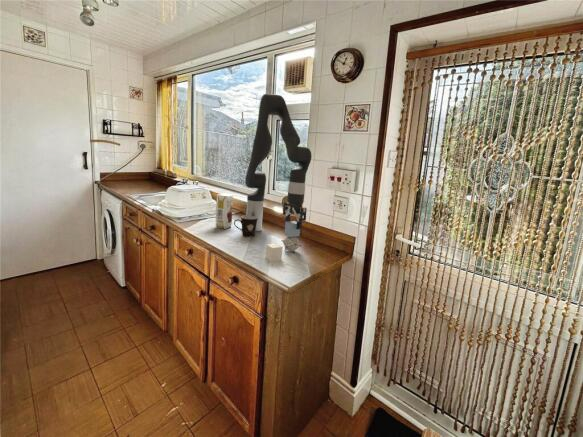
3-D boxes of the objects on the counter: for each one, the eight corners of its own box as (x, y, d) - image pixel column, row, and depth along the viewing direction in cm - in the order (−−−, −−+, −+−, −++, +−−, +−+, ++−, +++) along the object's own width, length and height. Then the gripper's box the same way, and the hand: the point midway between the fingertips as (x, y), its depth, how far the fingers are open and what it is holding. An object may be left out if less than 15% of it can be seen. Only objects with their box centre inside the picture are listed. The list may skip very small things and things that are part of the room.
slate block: (284, 234, 139) (285, 221, 138) (293, 233, 142) (294, 221, 141) (290, 237, 135) (291, 224, 134) (299, 236, 138) (300, 223, 137)
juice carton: (213, 227, 169) (215, 194, 165) (221, 224, 177) (222, 192, 173) (225, 229, 167) (227, 196, 163) (233, 226, 175) (234, 194, 171)
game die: (293, 258, 142) (308, 243, 140) (285, 256, 134) (300, 241, 133) (282, 245, 146) (296, 230, 144) (274, 242, 139) (288, 227, 137)
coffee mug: (257, 234, 163) (259, 216, 161) (254, 238, 155) (255, 219, 153) (237, 231, 164) (238, 214, 162) (232, 236, 156) (233, 217, 154)
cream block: (265, 257, 129) (266, 244, 128) (275, 256, 132) (276, 243, 131) (271, 261, 125) (272, 248, 124) (281, 260, 128) (282, 246, 127)
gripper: (280, 189, 137) (277, 223, 141) (299, 194, 126) (295, 231, 130) (293, 189, 142) (290, 222, 145) (312, 194, 131) (309, 230, 134)
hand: (292, 226), depth 138 cm, fingers open, 8 cm apart
